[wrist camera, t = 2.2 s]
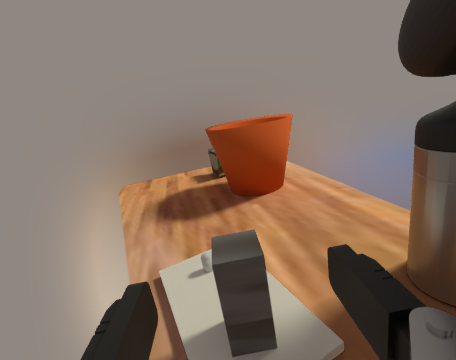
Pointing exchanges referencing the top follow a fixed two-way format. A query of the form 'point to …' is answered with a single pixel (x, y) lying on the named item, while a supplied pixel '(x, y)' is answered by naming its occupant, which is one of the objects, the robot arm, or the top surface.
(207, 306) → the plate
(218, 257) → the charcoal link
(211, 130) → the flowerpot
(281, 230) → the top surface
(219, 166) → the food container
